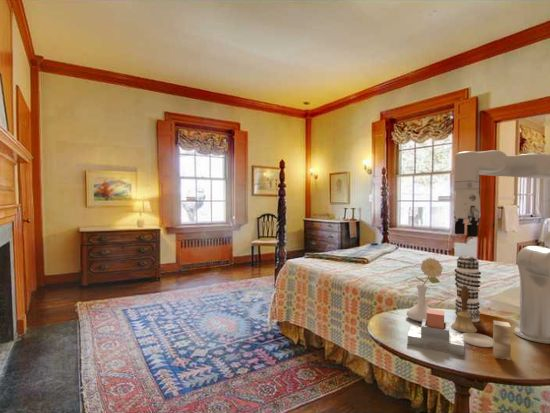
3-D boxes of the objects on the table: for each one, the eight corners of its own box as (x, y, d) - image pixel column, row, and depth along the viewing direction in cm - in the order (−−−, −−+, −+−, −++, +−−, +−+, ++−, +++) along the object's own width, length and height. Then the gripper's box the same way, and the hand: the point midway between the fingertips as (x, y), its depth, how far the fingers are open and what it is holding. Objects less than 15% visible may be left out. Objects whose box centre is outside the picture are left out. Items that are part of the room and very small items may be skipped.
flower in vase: (404, 321, 127) (405, 258, 127) (407, 313, 138) (408, 254, 137) (442, 327, 121) (442, 260, 121) (442, 318, 131) (442, 256, 131)
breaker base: (462, 343, 108) (463, 323, 108) (463, 355, 99) (464, 334, 99) (410, 333, 115) (411, 315, 115) (407, 344, 107) (407, 324, 107)
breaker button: (444, 324, 108) (444, 310, 108) (443, 329, 104) (443, 315, 104) (427, 321, 111) (427, 308, 110) (426, 326, 106) (426, 312, 106)
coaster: (486, 335, 114) (486, 333, 114) (501, 348, 104) (501, 345, 104) (455, 333, 116) (455, 331, 116) (468, 346, 106) (468, 343, 106)
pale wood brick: (508, 355, 99) (508, 322, 99) (510, 360, 96) (510, 326, 96) (492, 352, 101) (493, 320, 101) (494, 357, 98) (494, 324, 98)
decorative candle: (474, 324, 125) (475, 259, 125) (450, 317, 133) (450, 256, 132) (484, 319, 131) (485, 257, 130) (460, 312, 138) (461, 254, 138)
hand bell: (477, 327, 122) (477, 284, 122) (476, 334, 115) (477, 289, 115) (451, 323, 126) (452, 282, 126) (450, 329, 119) (450, 286, 119)
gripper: (490, 185, 106) (489, 238, 106) (466, 188, 123) (465, 233, 123) (466, 185, 107) (465, 237, 107) (445, 188, 124) (444, 232, 124)
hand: (465, 235), depth 115 cm, fingers open, 9 cm apart
